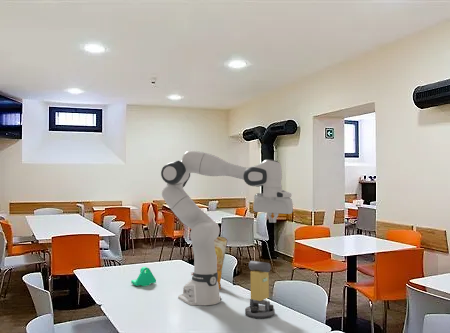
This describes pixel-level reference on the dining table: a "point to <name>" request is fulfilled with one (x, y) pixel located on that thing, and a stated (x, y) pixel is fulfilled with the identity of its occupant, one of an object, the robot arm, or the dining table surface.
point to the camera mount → (144, 277)
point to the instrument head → (259, 281)
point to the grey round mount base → (260, 310)
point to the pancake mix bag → (220, 255)
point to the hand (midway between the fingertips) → (272, 222)
